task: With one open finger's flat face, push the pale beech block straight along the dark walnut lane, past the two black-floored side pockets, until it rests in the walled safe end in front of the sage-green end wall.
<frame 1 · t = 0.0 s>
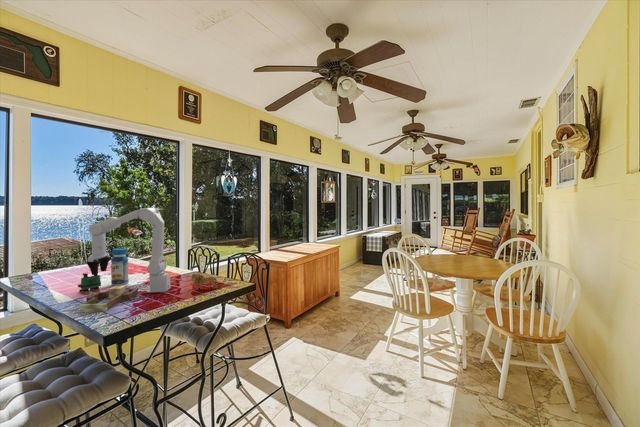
hand: (99, 272, 150), 10 cm above the table, tool pointing down, fingers open, 7 cm apart
beech block: (117, 297, 144), resting in trap lane
green toy train: (89, 291, 152), on the table
trap lane: (110, 300, 138), on the table
lion figurine: (204, 289, 158), on the table
beverage bottle: (120, 283, 167), on the table
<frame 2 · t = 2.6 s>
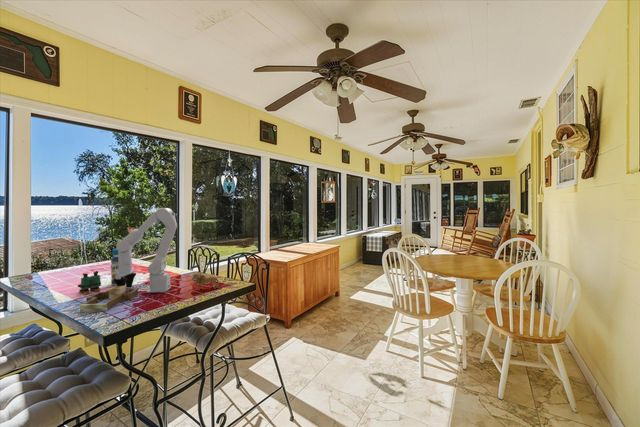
hand: (125, 289, 151), 1 cm above the table, tool pointing down, fingers open, 7 cm apart
beech block: (117, 297, 144), resting in trap lane, touching gripper
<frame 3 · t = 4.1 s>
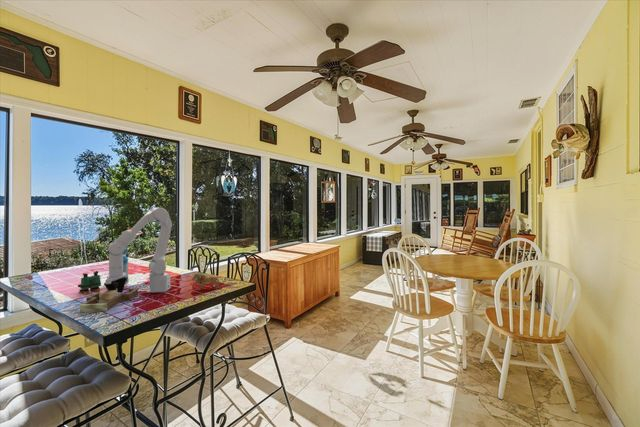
hand: (116, 294, 143), 1 cm above the table, tool pointing down, fingers open, 6 cm apart
beech block: (108, 302, 136), resting in trap lane, touching gripper
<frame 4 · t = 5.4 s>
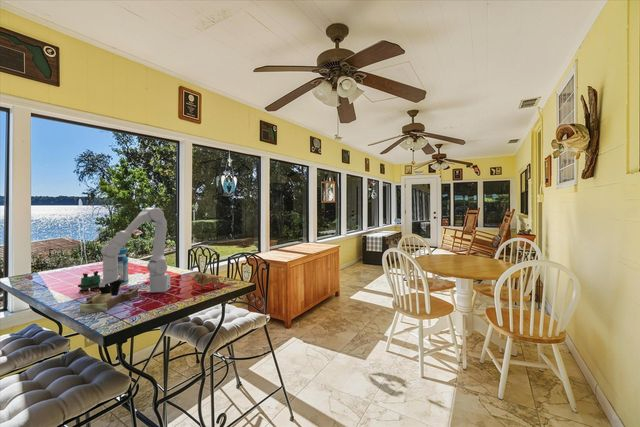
hand: (110, 297, 138), 1 cm above the table, tool pointing down, fingers open, 6 cm apart
beech block: (102, 306, 131), resting in trap lane, touching gripper
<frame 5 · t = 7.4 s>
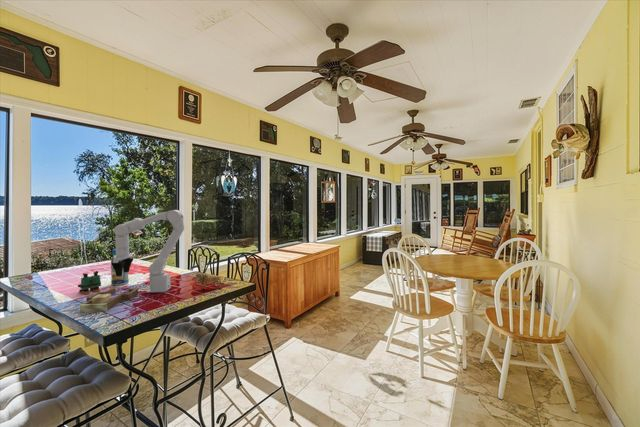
hand: (122, 274, 149), 10 cm above the table, tool pointing down, fingers open, 7 cm apart
beech block: (101, 306, 130), resting in trap lane
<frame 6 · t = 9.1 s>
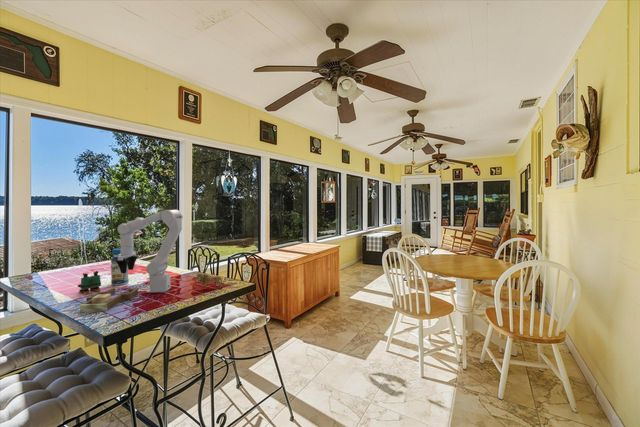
hand: (127, 271, 155), 10 cm above the table, tool pointing down, fingers open, 7 cm apart
at the end: beech block inside the target area (0.2 cm from its centre), resting in trap lane; beech block tilted 0° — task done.
